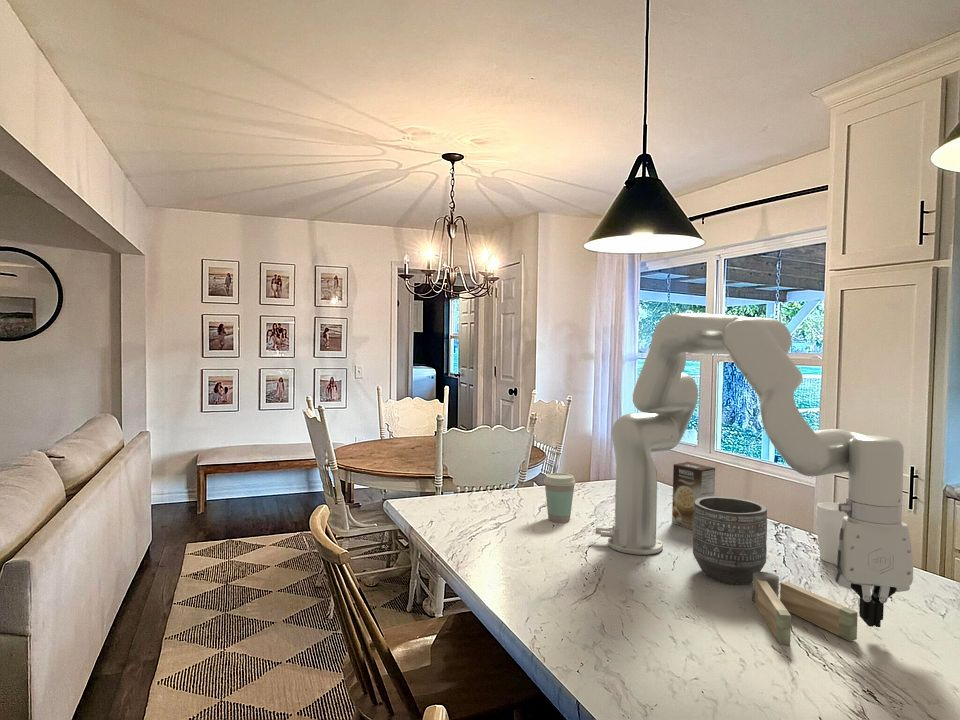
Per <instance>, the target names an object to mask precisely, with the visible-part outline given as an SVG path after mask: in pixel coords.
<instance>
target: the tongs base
mask: <svg viewBox="0 0 960 720" xmlns="http://www.w3.org/2000/svg"><path fill="white" fill-rule="evenodd" d="M779 582H780V577H779V575H777V574H774V573H772V572H768V571H760V572H755V573H753V581H752V600H751V601H752V603H754V604H755V605H756V608H757V610H758V611H759V612H760V614H761V616H762V617H763V619H764V621H765V622H766V624H767V626H768V627H769V629H770V631H771V632H772V634H773V636H774V638H775V640H776V641H777V642H778V644H779V645H784V646H785V645H786V646H791V636H792V635H791V633H792V631H791V630H792V629H791V628H792V626H791V625H792V615H791V612H789V611H787V609H786V608H785V606H784V605H783V604H782V602H781V601H780V597H779V594H780V587H779V584H780V583H779Z"/></svg>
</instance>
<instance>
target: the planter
mask: <svg viewBox="0 0 960 720" xmlns="http://www.w3.org/2000/svg"><path fill="white" fill-rule="evenodd" d="M692 530H693V533H692V534H693V537H692V555H693V556H694V559H695V560H696V562H697V564H698V566H699V568H700V570H701V572H702V573H703V574H704V576H705V577H706V578H709V579H711V580H712V581H715V582H719V583H723V584H728V585H748V584H751V583H753V573H755V572H762V570H763V568H764V567H765V565H766V563H767V538H768V537H767V536H768V508H767V507H766V506H765V505H764V504H762V503H761V502H760V503H759V502H757V501H754V500H750V499H745V498H744V499H743V498H740V497H730V496H719V495H718V496H717V495H714V496H708V497H701V498H698V499H696V500H695V501H694V523H693V529H692Z"/></svg>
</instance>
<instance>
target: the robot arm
mask: <svg viewBox="0 0 960 720" xmlns="http://www.w3.org/2000/svg"><path fill="white" fill-rule="evenodd" d="M650 342H651V343H650V346H649V350H648V353H647V355H646V358H645V360H644V361H643V365H642V366H641V367H642V368H641V370H640V373H639V376H638V378H637V380H636V382H635V383H636V384H635V386H634V389H633V393H632V404H633V406H634V407H635V408H636V410H638V411H640V412H632V413H626V414H623V415H622V416H619V417H618V419H616V420H615V422H614V423H613V425H612V428H611V439H612V444H613V451H614V458H615V459H614V460H615V492H614V493H615V496H614V497H615V499H614V501H615V502H614V503H615V504H614V505H615V506H614V507H615V508H614V522H613V523H612V524H613V525H608V526H607V527H606V526H605V527H604V526H597V525H595V535H597V536H598V535H599V536H600V537H602V538H608V539H607V545H608V546H609V547H610V548H611V549H612V550H614V551H617V552H620V553H625V554H630V555H641V556H643V555H654V554H658V553H660V552H661V551H663V549H664V548H663V547H664V544H663V542H662V541H661V540H660V539H658V538H657V509H658V507H657V506H658V505H657V502H658V471H657V470H658V469H657V467H656V464H655V461H654V460H653V458H652V455H651V453H657V452H666V451H670V450H673V449H674V448H676V447H677V446H678V445H679V444H680V442H681V440H682V439H683V437H684V435H685V432H686V430H687V428H688V426H689V424H690V421H691V419H692V416H693V414H694V412H695V410H696V407H697V405H698V401H699V389H698V388H699V387H698V386H697V383H696V381H695V379H694V378H693V377H692V376H691V375H689V374H687V373H686V372H684V370H685V367H686V364H687V363H686V362H687V355H686V354H688V353H689V354H703V355H714V354H715V355H716V354H718V355H728V356H729V357H730V359H731V360H732V362H733V363H734V364H735V366H736V367H737V369H738V370H739V371H740V373H741V375H743V377H744V378H745V380H747V382H748V384H749V385H750V386H751V388H752V389H753V390H754V392H755V394H756V395H757V396H758V398H759V401H760V402H759V405H760V406H759V410H760V416H761V420H762V421H761V423H762V426H763V429H764V432H765V434H766V436H767V438H768V439H769V441H770V442H771V444H772V445H773V447H774V448H775V450H776V451H777V452H778V454H779V455H780V456H781V457H782V459H783V460H784V461H785V463H786V464H787V465H788V466H789V467H790V468H791V469H792V470H794V471H795V472H796V473H798V474H800V475H803V476H804V477H805V476H806V477H820V476H826V475H831V474H839V473H848V477H847V480H848V481H847V482H848V483H847V498H846V499H845V501H846V502H843V504H839V505H838V509H839V511H840V512H845V513H846V514H847V516H844V517H843V520H842V523H841V527H840V532H839V537H838V543H837V552H836V564H835V570H836V571H837V574H836V576H835V581H834V582H835V583H836V584H837V585H839V586H840V587H843V588H846V589H848V590H849V589H850V590H853V591H854V593H856V594H857V595H858V596H859V604H858V605H859V610H858V614H859V617H860V619H862V621H863V622H864V623H865V624H866V625H867V627H872V628H873V627H876V628H881V625H882V623H881V621H883V620H884V609H885V608H884V604H886V603H887V602H888V599H889V598H890V597H891V596H892V597H893V595H894V594H895V593H901V592H902V593H903V592H908V591H910V589H911V587H910V586H911V585H912V584H913V582H914V561H913V549H912V541H911V536H910V535H911V534H910V531H909V529H910V528H909V527H908V524H907V523H905V522H904V521H902V520H903V515H902V513H903V491H904V490H903V489H904V488H903V485H904V460H905V459H904V454H905V453H904V452H905V451H904V450H905V449H904V446H903V444H902V442H901V441H900V440H899V439H896V438H893V437H889V436H888V437H887V436H882V435H867V434H866V435H865V434H861V433H858V432H855V431H854V432H853V431H851V430H846V429H842V428H841V429H840V428H830V429H829V428H828V429H819V430H817V429H816V430H813V428H811V426H810V425H809V424H808V422H807V421H806V420H805V419H804V417H803V415H802V414H801V412H800V411H799V409H798V407H797V404H796V401H795V391H796V390H797V389H798V388H799V386H800V385H801V384H802V381H803V374H802V372H801V370H800V369H799V368H798V367H797V366H796V364H795V363H794V361H793V360H792V359H791V357H790V356H789V355H788V353H789V351H790V349H791V346H792V335H791V331H790V330H789V329H788V328H787V326H786V325H785V324H784V323H783V322H781V321H779V320H778V319H775V318H772V317H771V318H769V317H768V318H767V317H752V316H751V317H750V316H749V317H748V316H738V315H731V314H729V315H728V314H712V313H711V314H710V313H701V312H699V313H697V312H679V313H677V312H676V313H671V314H667V315H666V316H664V317H663V318H662V319H661V320H660V321H658V323H657V324H656V326H655V328H654V330H653V334H652V336H651V341H650ZM871 586H872V591H871Z"/></svg>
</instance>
